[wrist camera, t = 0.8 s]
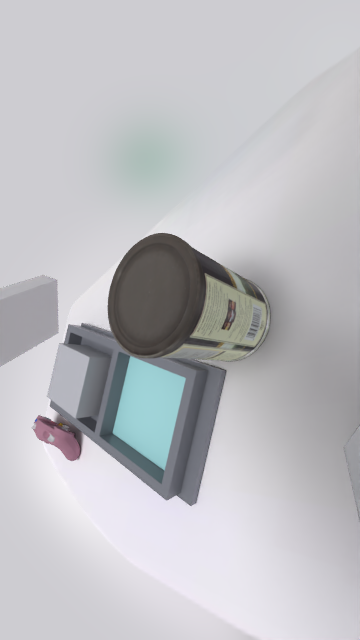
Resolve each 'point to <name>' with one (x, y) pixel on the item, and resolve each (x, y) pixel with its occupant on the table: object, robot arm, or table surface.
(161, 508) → the table surface
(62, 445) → the video game controller
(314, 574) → the table surface
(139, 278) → the coffee can
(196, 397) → the grey compartment tray
